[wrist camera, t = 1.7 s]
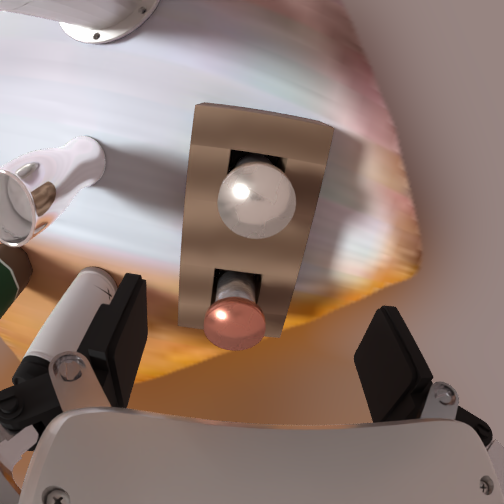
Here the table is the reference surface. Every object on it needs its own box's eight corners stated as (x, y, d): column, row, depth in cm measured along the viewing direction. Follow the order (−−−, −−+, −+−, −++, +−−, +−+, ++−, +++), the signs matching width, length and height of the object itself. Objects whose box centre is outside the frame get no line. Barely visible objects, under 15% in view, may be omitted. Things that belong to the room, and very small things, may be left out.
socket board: (204, 102, 30) (195, 105, 25) (319, 121, 31) (334, 128, 26) (185, 295, 41) (177, 325, 36) (275, 306, 42) (279, 337, 37)
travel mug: (121, 273, 39) (60, 395, 22) (115, 309, 42) (65, 425, 25) (80, 257, 38) (3, 367, 21) (77, 294, 41) (15, 402, 24)
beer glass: (76, 120, 30) (-10, 150, 17) (120, 153, 32) (49, 201, 19) (51, 168, 32) (-29, 218, 19) (91, 200, 34) (23, 265, 21)
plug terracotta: (213, 254, 34) (205, 301, 27) (265, 260, 35) (271, 309, 27) (209, 296, 37) (201, 346, 29) (257, 301, 37) (259, 353, 30)
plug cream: (228, 141, 28) (223, 160, 21) (288, 150, 29) (303, 172, 22) (220, 197, 31) (213, 233, 24) (277, 205, 32) (287, 243, 24)
